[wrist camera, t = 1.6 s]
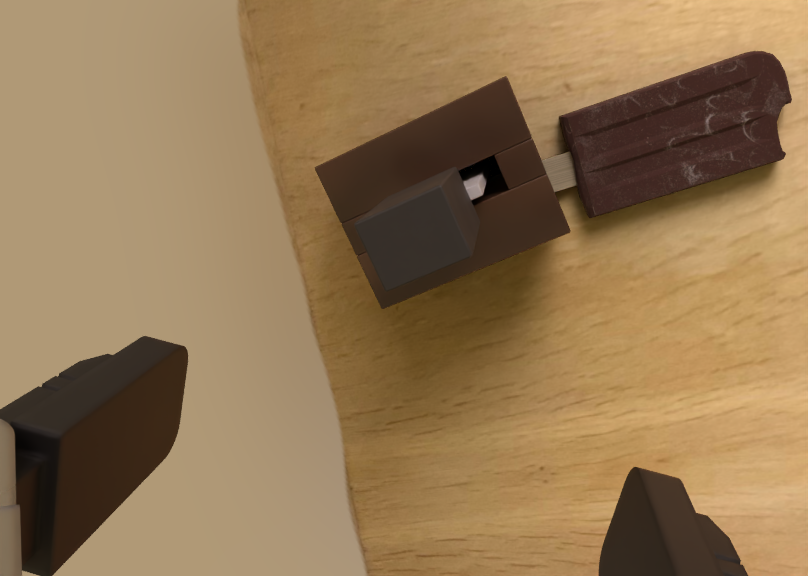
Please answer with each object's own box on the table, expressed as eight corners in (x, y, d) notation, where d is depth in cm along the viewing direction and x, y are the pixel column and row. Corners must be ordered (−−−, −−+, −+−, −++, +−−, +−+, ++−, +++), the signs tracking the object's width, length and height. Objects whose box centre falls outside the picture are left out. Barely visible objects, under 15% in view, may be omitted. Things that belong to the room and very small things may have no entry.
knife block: (349, 155, 37) (313, 167, 30) (507, 80, 35) (506, 75, 28) (404, 272, 38) (381, 309, 31) (559, 207, 36) (571, 232, 29)
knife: (409, 175, 37) (337, 230, 21) (479, 143, 36) (456, 177, 20) (428, 216, 37) (370, 299, 22) (497, 186, 36) (488, 250, 21)
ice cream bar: (497, 241, 37) (792, 151, 34) (497, 247, 36) (805, 153, 32) (467, 147, 36) (768, 44, 33) (466, 149, 35) (781, 41, 31)
